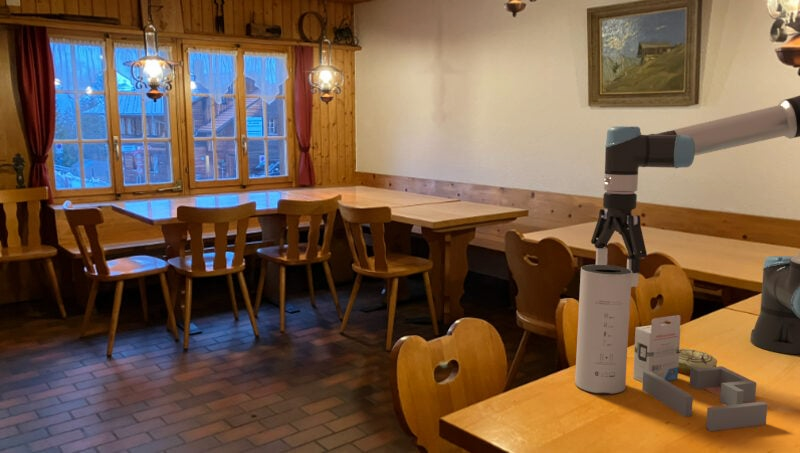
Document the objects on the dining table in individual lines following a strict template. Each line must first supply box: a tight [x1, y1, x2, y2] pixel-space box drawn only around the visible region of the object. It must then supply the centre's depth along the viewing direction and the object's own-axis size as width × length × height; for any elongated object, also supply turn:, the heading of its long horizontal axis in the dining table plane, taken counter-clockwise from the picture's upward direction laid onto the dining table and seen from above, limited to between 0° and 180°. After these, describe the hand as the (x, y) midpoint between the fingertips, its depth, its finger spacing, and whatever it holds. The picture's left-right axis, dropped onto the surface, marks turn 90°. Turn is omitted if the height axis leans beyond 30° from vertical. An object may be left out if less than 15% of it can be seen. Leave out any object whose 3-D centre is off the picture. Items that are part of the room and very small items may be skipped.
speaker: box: [574, 264, 632, 396], centre depth 145 cm, size 11×10×26 cm
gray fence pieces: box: [641, 365, 768, 432], centre depth 137 cm, size 18×21×4 cm
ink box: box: [632, 314, 681, 383], centre depth 150 cm, size 9×5×15 cm, turn 114°
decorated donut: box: [678, 348, 718, 375], centre depth 157 cm, size 10×11×4 cm
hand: (615, 280), depth 165 cm, fingers open, 13 cm apart
